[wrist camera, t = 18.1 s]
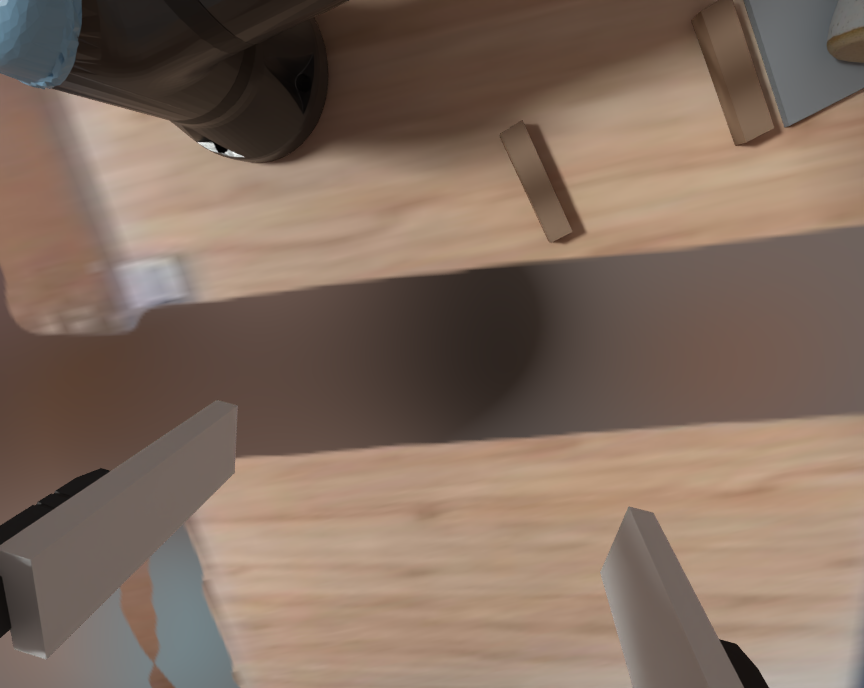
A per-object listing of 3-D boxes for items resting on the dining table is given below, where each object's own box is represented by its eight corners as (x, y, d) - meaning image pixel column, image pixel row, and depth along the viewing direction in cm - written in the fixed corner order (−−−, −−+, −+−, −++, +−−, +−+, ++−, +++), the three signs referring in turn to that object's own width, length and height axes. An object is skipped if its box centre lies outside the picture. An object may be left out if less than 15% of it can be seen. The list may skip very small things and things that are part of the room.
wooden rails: (500, 137, 36) (500, 133, 35) (719, 3, 31) (730, -7, 30) (548, 241, 38) (550, 242, 37) (761, 131, 33) (774, 127, 32)
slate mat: (738, -17, 31) (742, -21, 30) (950, -146, 27) (959, -154, 27) (784, 127, 33) (789, 125, 32) (986, 23, 29) (995, 20, 29)
